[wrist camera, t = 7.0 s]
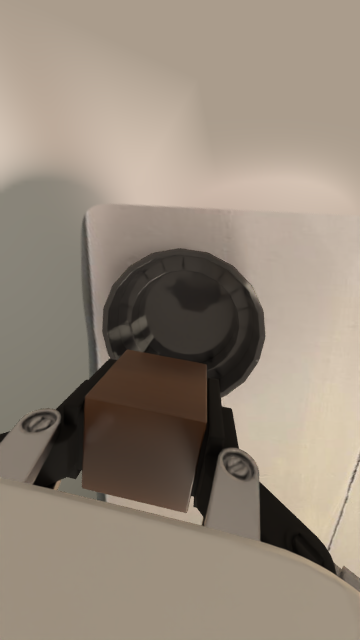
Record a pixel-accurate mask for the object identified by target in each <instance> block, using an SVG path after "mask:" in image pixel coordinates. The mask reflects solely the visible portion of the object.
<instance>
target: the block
mask: <svg viewBox="0 0 360 640" xmlns="http://www.w3.org/2000/svg"><path fill="white" fill-rule="evenodd" d="M206 425H207V365H206V364H202V363H197V362H192V361H186V360H181V359H176V358H171V357H165V356H160V355H155V354H149V353H144V352H139V351H133V350H126V351H125V352H124V354H123V355H122V356H121V357H120V358H119V359H118V360H117V361H116V362H115V364H114V365H113V366H112V367H111V368H110V369H109V370H108V371H107V373H106V374H105V375H104V376H103V377H102V378H101V379H100V380H99V381H98V383H97V384H96V385H95V386H94V387H93V388H92V389H91V390H90V391H89V393H88V394H87V395H86V396H85V404H84V434H83V464H82V488H84V489H88V490H92V491H96V492H100V493H104V494H109V495H113V496H117V497H121V498H125V499H130V500H134V501H138V502H142V503H146V504H150V505H155V506H159V507H163V508H167V509H171V510H176V511H180V512H184V513H187V511H188V507H189V502H190V498H191V492H192V487H193V483H194V478H195V474H196V469H197V465H198V460H199V455H200V451H201V446H202V442H203V438H204V434H205V429H206Z"/></svg>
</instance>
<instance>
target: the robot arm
mask: <svg viewBox="0 0 360 640" xmlns="http://www.w3.org/2000/svg"><path fill="white" fill-rule="evenodd" d="M116 361H117V360H114V359H109V360H108V361H107V362H106V363H105V364H104V365H103V366H102V367H101V368H100V369H99V370H98V371H97V372H96V373H95V374H94V375H93V376H92V377H91V378H90V379H89V380H85V381H84V382H83V383H82V384H81V385H80V386H79V387H78V388H77V389H76V390H75V391H74V392H73V393H72V394H71V395H70V396H69V397H68V398H67V399H66V400H65V401H64V402H63V403H62V404H61V405H60V406H59V407H58V408H57V409H56V410H55V409H50V408H45V409H39V410H35V411H32V412H30V413H28V414H26V415H25V416H23V417H22V418H21V419H20V420H19V421H18V423H17V424H16V425H15V426H14V427H13V429H12V430H11V431H9V432H6V433H3V434H0V640H360V578H359V577H357V576H356V575H355V574H354V573H352V572H351V571H350V570H349V569H347V568H346V567H345V566H343V568H342V569H341V568H339V567H338V566H337V565H336V564H335V563H334V562H333V560H332V557H331V555H330V553H329V552H328V550H327V549H326V547H325V546H324V544H323V543H322V542H321V541H320V540H319V539H318V537H317V536H316V535H315V534H314V533H313V532H312V531H310V530H309V529H308V528H307V527H306V526H305V525H304V524H303V523H302V522H301V521H300V520H299V519H298V518H297V517H296V516H295V515H294V514H293V513H292V512H291V511H290V510H289V509H288V508H286V507H285V506H284V505H283V504H282V503H281V502H280V501H279V500H278V499H277V498H276V497H275V496H274V495H273V494H272V493H271V492H270V491H269V490H268V489H267V488H266V487H265V486H264V485H262V484H261V483H260V482H259V470H258V466H257V464H256V462H255V461H254V459H253V458H252V457H251V456H250V455H249V454H247V453H246V452H244V451H242V450H240V449H239V447H238V441H237V435H236V430H235V424H234V418H233V412H232V409H231V408H226V407H222V405H221V396H220V386H219V380H218V379H212V378H208V380H207V425H206V429H205V434H204V438H203V442H202V446H201V451H200V455H199V460H198V465H197V469H196V474H195V478H194V483H193V487H192V492H191V496H194V507H196V508H197V509H198V510H199V511H200V513H201V514H202V516H203V521H202V525H197V524H193V523H189V522H185V521H180V520H176V519H172V518H168V517H164V516H160V515H156V514H152V513H148V512H144V511H140V510H136V509H132V508H128V507H124V506H120V505H115V504H111V503H107V502H103V501H99V500H95V499H91V498H86V497H82V496H78V495H74V494H70V493H66V492H62V491H57V490H58V488H59V486H60V483H61V479H63V478H66V477H70V478H74V479H76V478H77V476H78V475H79V473H80V471H81V470H82V464H83V434H84V404H85V396H86V395H87V394H88V393H89V391H90V390H91V389H92V388H93V387H94V386H95V385H96V384H97V383H98V381H99V380H100V379H101V378H102V377H103V376H104V375H105V374H106V373H107V371H108V370H109V369H110V368H111V367H112V366H113V365H114V364H115V362H116Z"/></svg>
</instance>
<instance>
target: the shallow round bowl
mask: <svg viewBox="0 0 360 640" xmlns="http://www.w3.org/2000/svg"><path fill="white" fill-rule="evenodd" d="M102 332H103V336H104V340H105V344H106V348H107V351H108V354H109V356H110V358H111V359H114V360H118V359H119V358H120V357H121V356H122V355H123V354H124V352H125V351H126V350H133V351H139V352H144V353H149V354H155V355H160V356H165V357H171V358H176V359H181V360H186V361H192V362H197V363H202V364H206V365H207V380H208V378H212V379H218V380H219V386H220V396H221V397H224V396H226V395H228V394H229V393H230V392H231V391H233V390H234V389H235V388H237V387H238V386H239V385H241V384H242V383H243V382H245V380H246V379H247V378H248V376H249V375H250V373H251V372H252V370H253V369H254V367H255V366H256V365H257V363H258V361H259V359H260V355H261V351H262V348H263V344H264V340H265V325H264V312H263V309H262V307H261V305H260V302H259V300H258V298H257V295H256V293H255V291H254V289H253V287H252V285H251V284H250V283H249V282H248V281H247V280H246V279H245V278H244V277H243V276H242V275H241V274H240V273H239V272H238V270H237V269H236V268H235V267H234V266H232V265H230V264H229V263H227V262H225V261H223V260H221V259H219V258H217V257H215V256H213V255H211V254H210V253H207V252H201V251H194V250H188V249H181V248H180V249H179V248H178V249H173V250H167V251H162V252H156V253H153V254H150V255H148V256H147V257H145V258H143V259H141V260H140V261H138V262H136V263H134V264H133V265H131V266H130V267H128V268H127V270H126V271H125V272H124V273H123V274H122V275H121V277H120V278H119V279H118V280H117V281H116V282H115V283H114V285H113V286H112V288H111V291H110V294H109V296H108V299H107V301H106V304H105V306H104V311H103V330H102Z"/></svg>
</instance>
